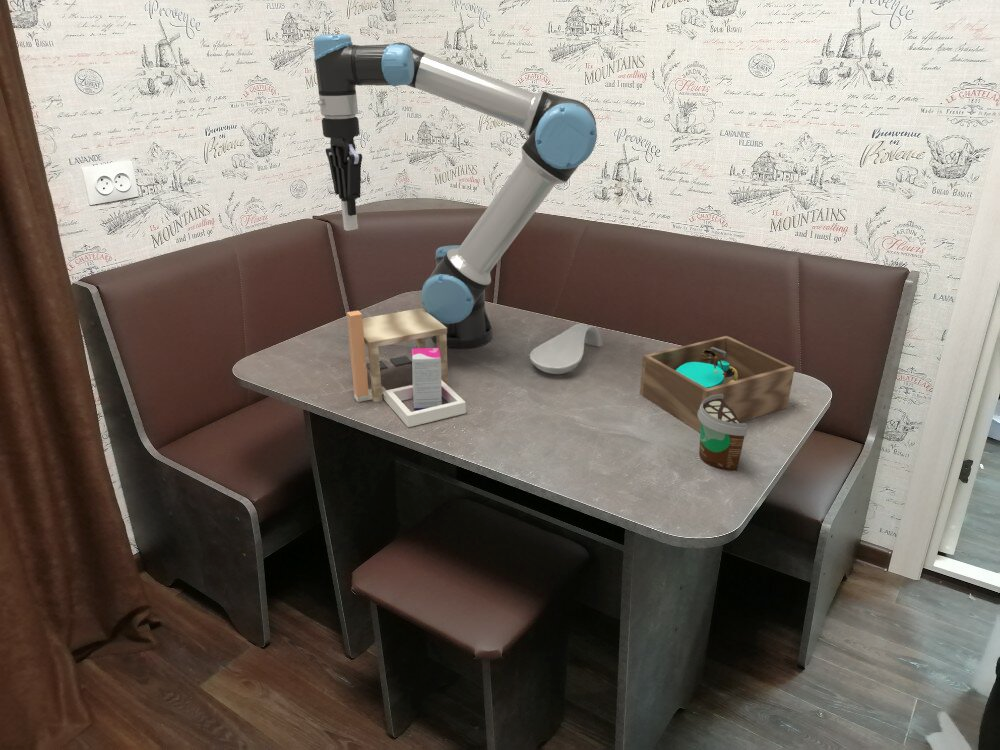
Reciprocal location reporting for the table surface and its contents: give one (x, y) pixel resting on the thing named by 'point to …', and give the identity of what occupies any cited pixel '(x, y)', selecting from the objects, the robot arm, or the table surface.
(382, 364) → the plate
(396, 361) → the plate
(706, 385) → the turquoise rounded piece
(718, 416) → the food container
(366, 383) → the sled
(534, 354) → the spoon rest
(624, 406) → the table surface
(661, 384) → the teapot crate
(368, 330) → the small wooden stool
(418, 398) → the supplement box
